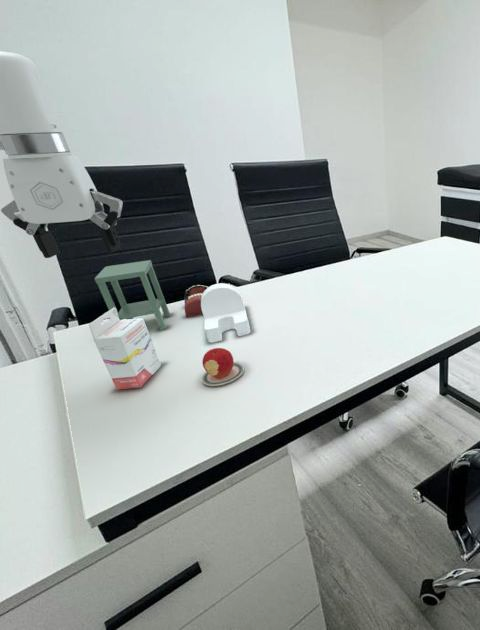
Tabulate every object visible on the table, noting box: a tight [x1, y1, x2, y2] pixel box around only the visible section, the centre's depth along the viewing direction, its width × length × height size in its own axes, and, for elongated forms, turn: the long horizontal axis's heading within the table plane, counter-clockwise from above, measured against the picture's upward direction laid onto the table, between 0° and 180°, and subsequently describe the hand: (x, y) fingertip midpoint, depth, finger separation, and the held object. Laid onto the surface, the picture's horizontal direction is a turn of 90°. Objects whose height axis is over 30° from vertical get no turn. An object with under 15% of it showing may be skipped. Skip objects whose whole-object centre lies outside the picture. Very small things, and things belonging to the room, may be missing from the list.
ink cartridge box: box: [88, 306, 162, 390], centre depth 78 cm, size 9×5×15 cm, turn 6°
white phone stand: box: [201, 282, 252, 344], centre depth 99 cm, size 10×18×11 cm, turn 27°
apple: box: [201, 347, 245, 387], centre depth 78 cm, size 8×8×6 cm
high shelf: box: [94, 259, 171, 331], centre depth 99 cm, size 10×10×16 cm
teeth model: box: [183, 284, 209, 318], centre depth 110 cm, size 8×6×12 cm
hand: (84, 252), depth 68 cm, fingers open, 9 cm apart
